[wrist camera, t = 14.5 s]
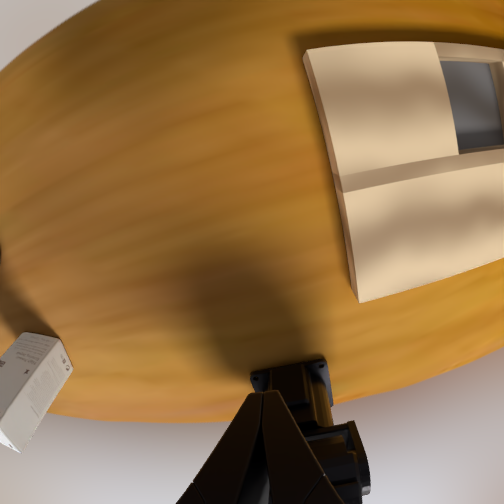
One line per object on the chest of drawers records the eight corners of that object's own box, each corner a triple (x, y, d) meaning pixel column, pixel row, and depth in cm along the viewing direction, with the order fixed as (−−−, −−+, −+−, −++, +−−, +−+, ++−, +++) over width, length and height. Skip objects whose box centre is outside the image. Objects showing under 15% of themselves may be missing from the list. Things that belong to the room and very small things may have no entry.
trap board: (559, 222, 18) (581, 233, 15) (351, 289, 21) (365, 315, 18) (545, 63, 12) (569, 62, 9) (302, 58, 16) (310, 42, 12)
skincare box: (60, 336, 24) (-5, 423, 13) (76, 370, 26) (24, 456, 15) (21, 330, 25) (-41, 402, 13) (37, 362, 26) (-15, 435, 15)
